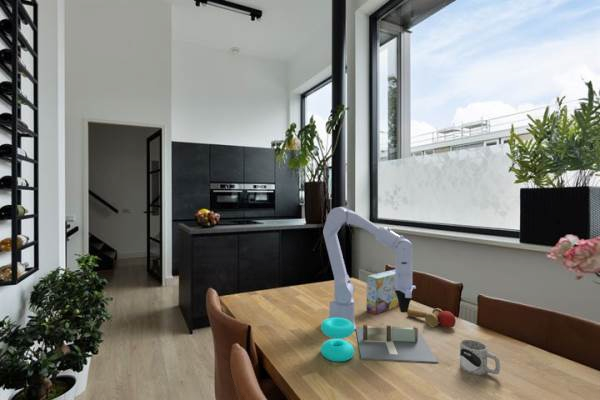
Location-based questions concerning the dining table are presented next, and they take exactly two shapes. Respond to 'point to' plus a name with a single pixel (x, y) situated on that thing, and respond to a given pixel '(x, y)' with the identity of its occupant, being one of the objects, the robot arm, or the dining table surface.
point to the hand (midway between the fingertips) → (403, 311)
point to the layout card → (395, 349)
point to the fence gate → (405, 334)
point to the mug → (476, 358)
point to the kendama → (435, 317)
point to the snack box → (381, 292)
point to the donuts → (337, 347)
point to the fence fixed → (376, 333)
